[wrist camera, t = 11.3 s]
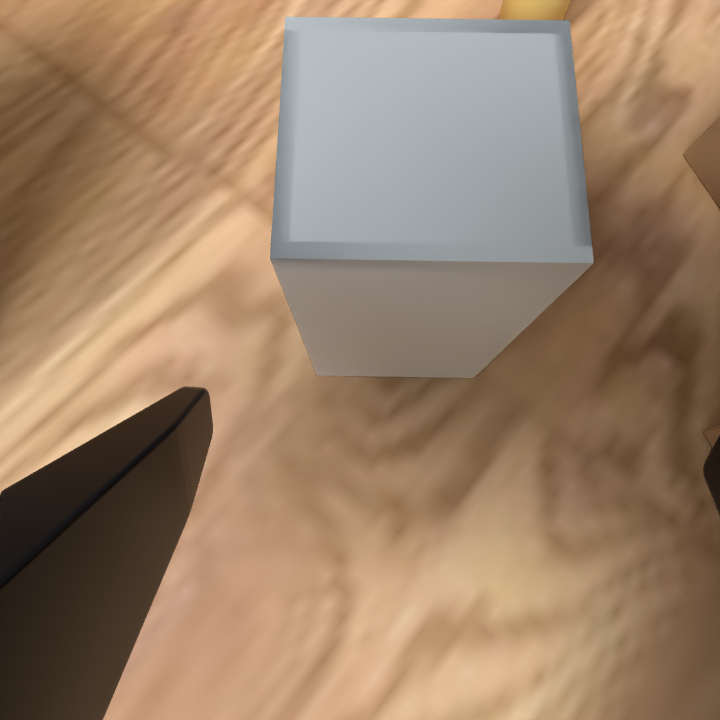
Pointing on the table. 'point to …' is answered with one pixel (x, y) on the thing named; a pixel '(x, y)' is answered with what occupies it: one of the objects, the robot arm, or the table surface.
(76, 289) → the table surface
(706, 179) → the box
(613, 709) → the table surface
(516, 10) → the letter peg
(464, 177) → the pale grey square pillar
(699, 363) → the table surface
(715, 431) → the box
